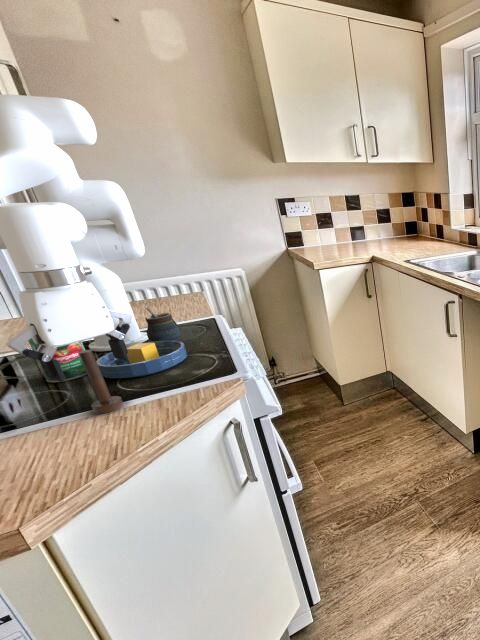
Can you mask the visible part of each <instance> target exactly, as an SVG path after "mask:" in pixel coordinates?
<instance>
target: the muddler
mask: <svg viewBox="0 0 480 640" xmlns="http://www.w3.org/2000/svg"><path fill="white" fill-rule="evenodd" d="M79 356H80V358H81V360H82V362H83V365H84V367H85V369H86V372H87V376H88V378H89V381H90V384H91V385H92V388H93V390H94V392H95V395H96V397H97V400H95V401H94V402H92V403H91V405H90V408H91V409H92V412H93V414H96V415H97V414H98V415H100V414H106V413H111V412H114V411H116V410H118V409H120V408H122V407H123V406H124V405H125V404H124V401H123V398H122V397H121V396H120V395H113V396H112V395H111V393H110V390H109V388H108V385H107V383H106V381H105V377H103V376H102V374H101V371H100V369H99V366H98V364H97V362H96V361H97V360H96V357H95V354H94V351H92V350H90V349H85V350H84V351H81V352H79Z"/></svg>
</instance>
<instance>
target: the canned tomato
mask: <svg viewBox="0 0 480 640" xmlns="http://www.w3.org/2000/svg"><path fill="white" fill-rule="evenodd" d="M27 342H28V343H29V345H30V349H31V350H34V351H37V349H38V347H39V345H37V344H35V343H34V341H33V339H32V338H31V339H30V340H28V341H27ZM84 350H86V348H85V345H84V343H83V341H80V342H76V343H73V344H69V345H65V346H61V347H58V348H57V350H56V352H55V354H54V355H53V359H56V360H58V362H59V364H60V366H61V369H62V371H63V373H64V375H65V378H66V379H65V380H63V381H57V380H53V379H51V378H48V377H47V376H46V374H45V372H44V370H43V368H42V366H41V363H40V361H39V360H36V361H37V362H38V363H37V364H38V365H39V367H40V369H41V371H42V374H43V376H44V377H45V381H46V382H47V383H61V382H62V383H63V382H67V381H71V380H75V379H79V378H82V377H85V376H88V374H87V372H86V369H85V367H84V365H83V362H82V360H81V358H80V356H79V352H81V351H84Z"/></svg>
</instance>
